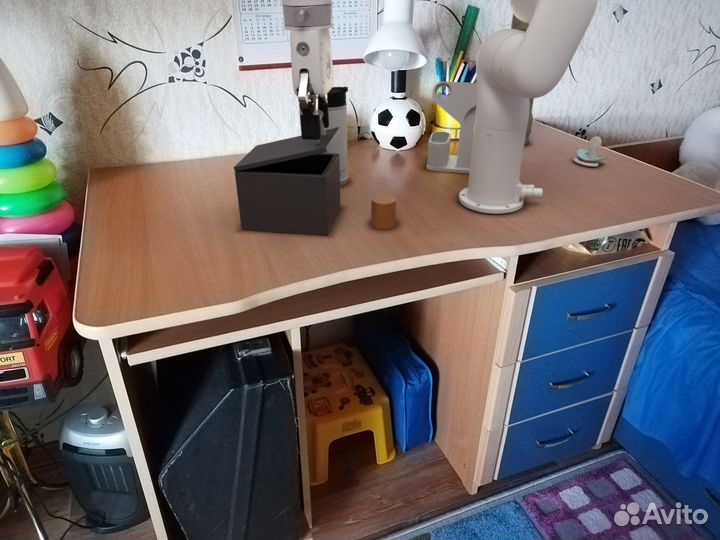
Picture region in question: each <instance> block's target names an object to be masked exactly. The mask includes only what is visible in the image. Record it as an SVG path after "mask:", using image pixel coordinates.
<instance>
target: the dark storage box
mask: <svg viewBox="0 0 720 540" xmlns="http://www.w3.org/2000/svg"><path fill="white" fill-rule="evenodd" d="M234 177H235V186H236V187H235V188H236V195H237V203H238V211H239V219H240V226H241V231H252V232H267V233H281V234H295V235H296V234H299V235H311V236H312V235H313V236H325V237H328V236H329V234H330V232H331V229H332V227H333V226H334V223H335V221H336V218H337V216H338V214H339V212H340V210H341V186H340V160H339V154H334V153H321V154H316V155H311V156H307V157H302V158H297V159H292V160H288V161H283V162H278V163H274V164H269V165H264V166H259V167H255V168H250V169H245V170H240V171H236V172H235V171H234Z"/></svg>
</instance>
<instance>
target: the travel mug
mask: <svg viewBox="0 0 720 540" xmlns="http://www.w3.org/2000/svg"><path fill="white" fill-rule="evenodd" d="M348 92H349V87H348V86H333V87H332V88H331V90H330V91H329V92H328V93H327V104H328V115H329V127H328V128H325V130H328V129H333V128H337V127H340V130H341V132H340V133H339V135H338V136H337V138H336V139H335V141H334V142H333V144H332V145H331V147H330V148H329V150H328V151H327V152H326V153H334V154H339V160H340V187H342V186H345V185H346V184H347V183H348V181H349V176H348V174H349V173H348V168H349V167H348V111H347V110H348V108H347V107H348V106H347V104H348V103H347V93H348Z"/></svg>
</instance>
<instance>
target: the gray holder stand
mask: <svg viewBox="0 0 720 540" xmlns="http://www.w3.org/2000/svg"><path fill="white" fill-rule="evenodd" d="M441 87H445V88H447V89H448V91H449V93H448V95H447V97H444V98H441V97H439V95H438V90H439V89H440V88H441ZM431 96H432V101H434V103H435V104H436V105H437V106H438V107H440V108H441V109H442V110H443V111H444V112H445V113H447V114H448V115H449V116H451V117H452V118H453V119H454V121H456V122H458V123H459V125H460V127H459V135H458V143H457V144H458V146H457V152H456V153H457V155H453V154H450V152H451V151H450V149H451V139H452V135H451V133H450V132H447V131H434V132H432V133H431V135H430V137H429V139H428V144H427V159H426V166H425V167H426V168H425V169H426V170H428V171H432V172H433V171H435V172H443V173H444V172H445V173H459V174H469V172H470V162H471V153H472V143H473V134H474V124H475V116H476V105H477V82H461V81H438V82H437V83H435V85H434V86H433V88H432V95H431Z"/></svg>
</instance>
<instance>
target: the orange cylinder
mask: <svg viewBox="0 0 720 540" xmlns="http://www.w3.org/2000/svg"><path fill="white" fill-rule="evenodd" d="M370 205H371V213H370V214H371V218H370V221H371V222H370V225H371V227H373V228H374V229H377V230H390V229H393V228H394V227H395V226H396V214H397V212H396V211H397V198H396V197H395V196H394V195H392V194H385V193H384V194H375V195H374V196H372V197H371V204H370Z"/></svg>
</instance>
